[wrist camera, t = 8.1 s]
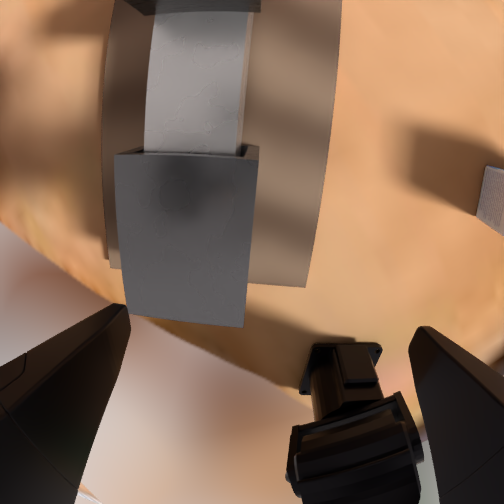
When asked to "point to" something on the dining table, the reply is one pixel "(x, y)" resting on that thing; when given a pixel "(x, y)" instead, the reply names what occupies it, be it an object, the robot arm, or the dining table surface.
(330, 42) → the base board
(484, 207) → the medicine box
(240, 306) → the outer sleeve
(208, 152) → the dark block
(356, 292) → the dining table surface
